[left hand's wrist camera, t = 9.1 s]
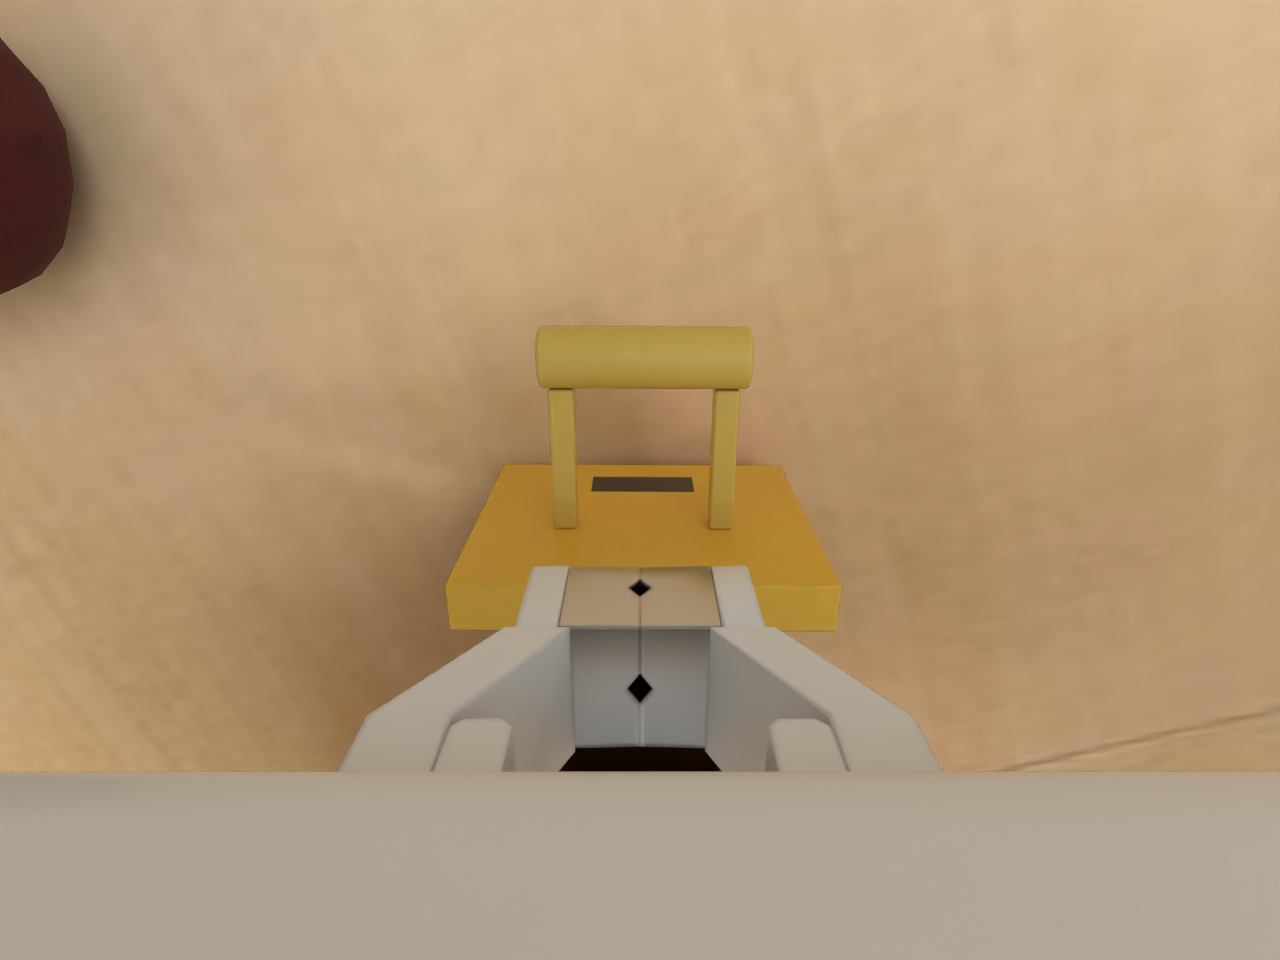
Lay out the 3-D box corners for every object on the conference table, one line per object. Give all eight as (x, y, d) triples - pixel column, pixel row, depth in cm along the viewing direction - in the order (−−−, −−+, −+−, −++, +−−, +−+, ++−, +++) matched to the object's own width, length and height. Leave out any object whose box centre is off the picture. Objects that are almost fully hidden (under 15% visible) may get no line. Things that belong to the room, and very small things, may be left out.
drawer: (492, 298, 21) (418, 353, 14) (794, 300, 21) (871, 356, 14) (534, 895, 30) (503, 1108, 23) (744, 895, 30) (775, 1109, 23)
